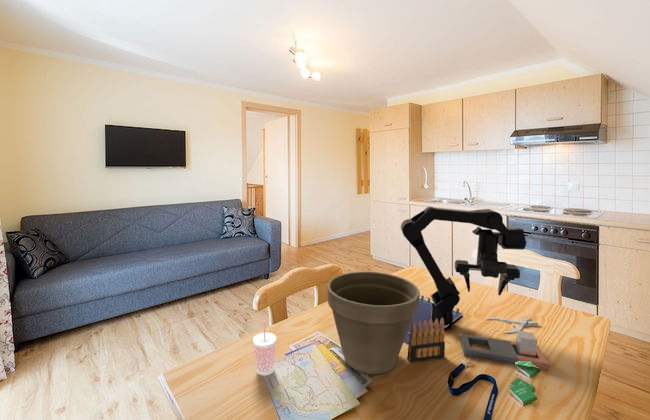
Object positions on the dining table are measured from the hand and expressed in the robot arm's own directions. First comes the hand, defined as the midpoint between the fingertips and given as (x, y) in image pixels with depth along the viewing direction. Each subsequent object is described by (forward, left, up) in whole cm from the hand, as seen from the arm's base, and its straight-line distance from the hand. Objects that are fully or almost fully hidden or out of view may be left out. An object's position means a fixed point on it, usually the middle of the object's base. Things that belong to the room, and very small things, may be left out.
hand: (483, 293), depth 104 cm
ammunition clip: (-18, -24, -12) cm, 32 cm away
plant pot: (-33, -28, -12) cm, 45 cm away
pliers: (+11, +5, -13) cm, 18 cm away
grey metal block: (+9, -15, -12) cm, 21 cm away
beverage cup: (-59, -42, -12) cm, 74 cm away
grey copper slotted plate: (+3, -15, -12) cm, 19 cm away
